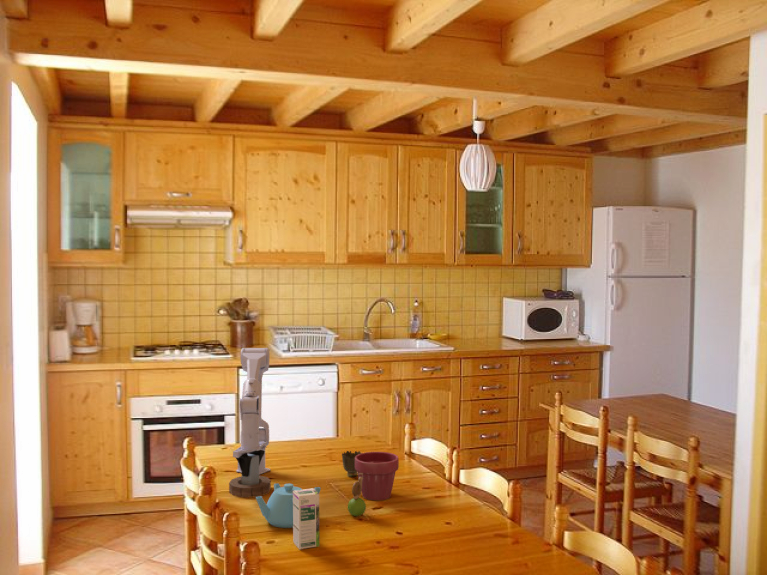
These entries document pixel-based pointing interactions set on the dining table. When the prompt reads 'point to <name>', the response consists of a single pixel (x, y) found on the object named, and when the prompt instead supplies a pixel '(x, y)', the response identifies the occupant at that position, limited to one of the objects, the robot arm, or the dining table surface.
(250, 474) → the slate peg
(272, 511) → the teapot
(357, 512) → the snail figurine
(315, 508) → the syrup box
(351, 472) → the cup
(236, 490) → the walnut ring
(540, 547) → the dining table surface
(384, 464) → the plant pot
